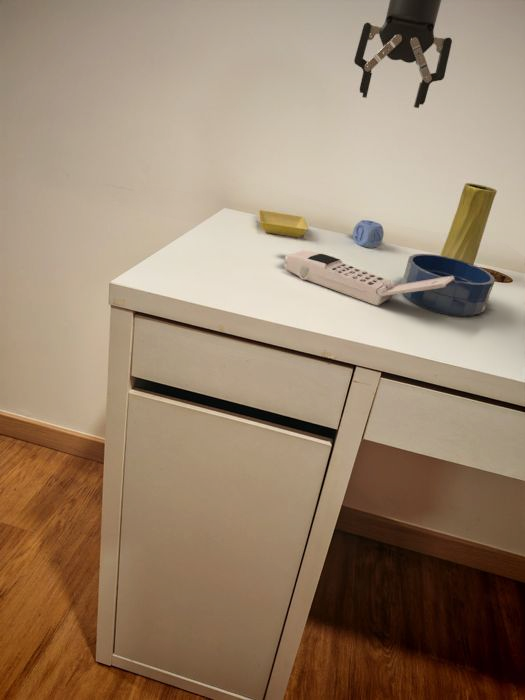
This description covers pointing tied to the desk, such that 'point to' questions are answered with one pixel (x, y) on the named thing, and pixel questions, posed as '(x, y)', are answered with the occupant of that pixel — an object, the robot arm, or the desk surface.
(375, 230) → the decorative dice
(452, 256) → the vase
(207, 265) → the desk surface
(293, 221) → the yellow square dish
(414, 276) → the bowl
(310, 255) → the mobile phone
